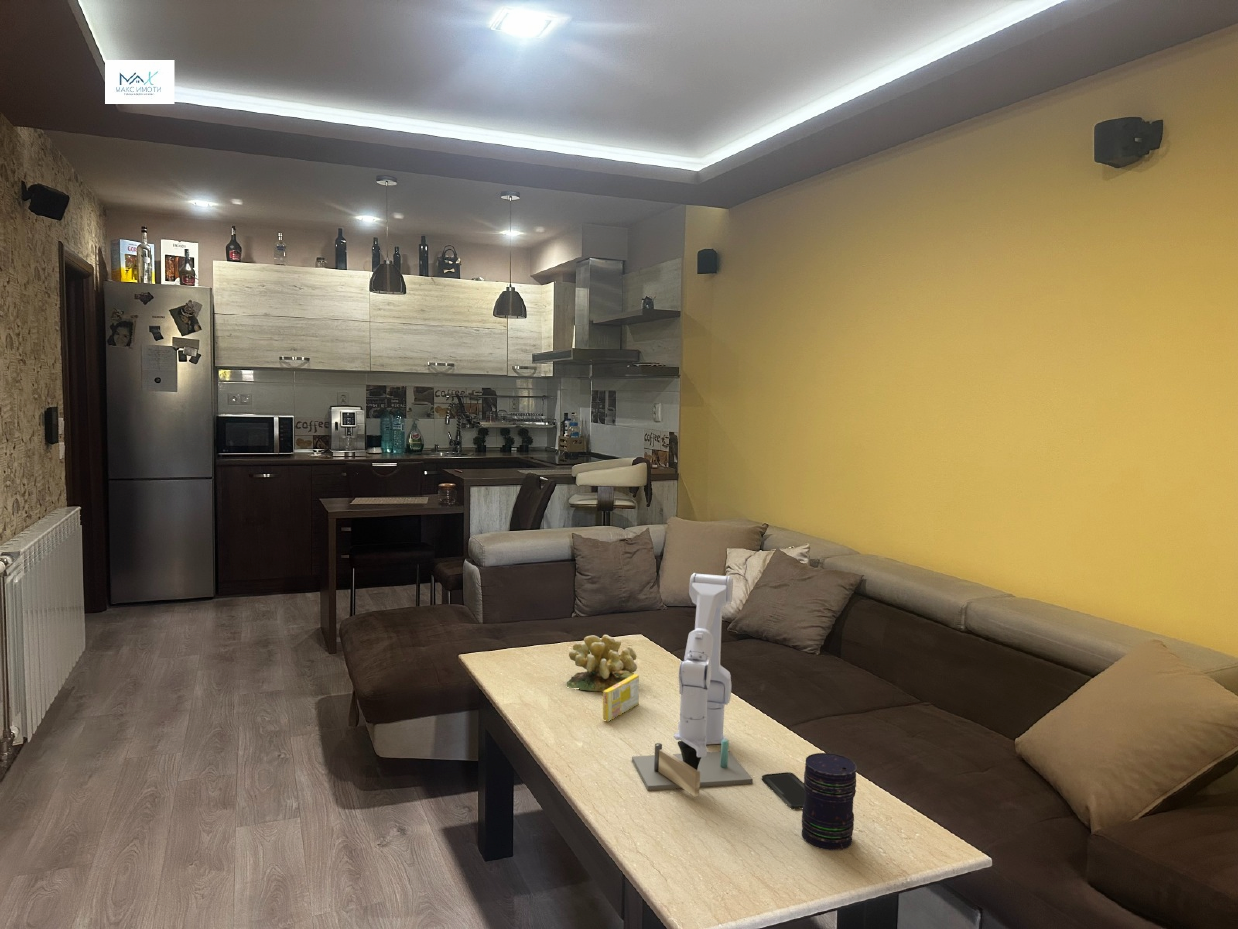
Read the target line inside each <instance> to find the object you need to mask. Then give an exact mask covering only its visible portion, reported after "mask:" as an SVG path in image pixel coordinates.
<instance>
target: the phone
mask: <svg viewBox="0 0 1238 929" xmlns="http://www.w3.org/2000/svg"><path fill="white" fill-rule="evenodd" d="M761 781H762V782H763V783H764V784H765V785H766V784H767V785H766V786H767V787H768V788H769V787H770V788H769V789H770V790H771V791H772V790H773V791H772V792H773V793H774V794H775V795H776V796H777V797H778V798H779V799H780V800H781V801H782V802H783V803H784V804H785V805H786V804H787V805H786V807H788V808H789V809H790V808H791V809H790V810H793V809H795V810H796V809H799V810H801V809H800V808H803V805H804V802H805V789H804V781H802V780H801V779H800V778H799V777H798V776H797V775H796V774H795V773H793V772H787V771H786V772H777V773H776V772H775V773H768V774H762V777H761ZM796 811H797V810H796Z"/></svg>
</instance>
